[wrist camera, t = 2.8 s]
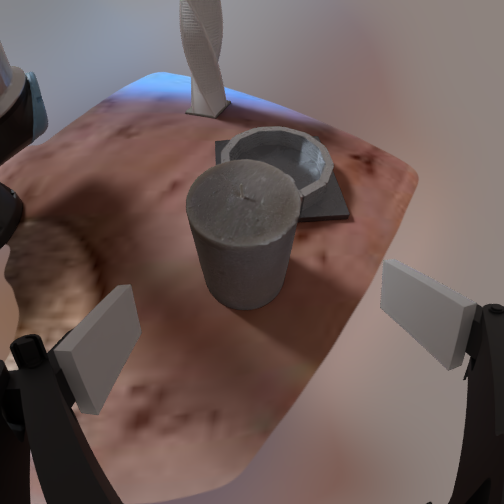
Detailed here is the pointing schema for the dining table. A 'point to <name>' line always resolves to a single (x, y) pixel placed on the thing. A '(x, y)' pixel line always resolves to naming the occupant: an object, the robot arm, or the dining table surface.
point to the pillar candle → (243, 230)
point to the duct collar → (292, 166)
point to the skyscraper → (203, 55)
